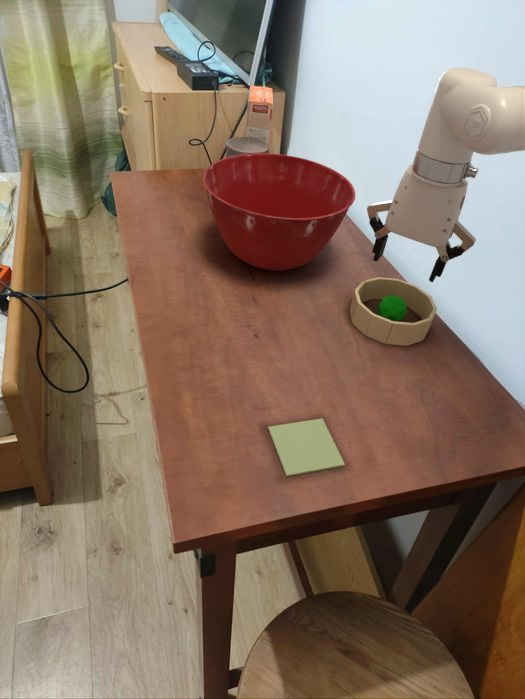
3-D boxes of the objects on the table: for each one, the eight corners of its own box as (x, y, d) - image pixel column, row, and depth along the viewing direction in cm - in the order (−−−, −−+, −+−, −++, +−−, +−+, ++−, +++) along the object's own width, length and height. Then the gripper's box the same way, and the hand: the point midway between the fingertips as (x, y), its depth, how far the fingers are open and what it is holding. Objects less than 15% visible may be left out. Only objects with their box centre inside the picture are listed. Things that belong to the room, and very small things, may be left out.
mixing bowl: (330, 306, 93) (348, 229, 83) (181, 274, 95) (181, 196, 85) (345, 236, 114) (361, 168, 104) (222, 212, 117) (226, 143, 107)
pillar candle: (257, 193, 127) (263, 130, 117) (267, 210, 120) (275, 146, 110) (218, 193, 124) (221, 130, 114) (227, 212, 117) (231, 145, 107)
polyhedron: (374, 325, 90) (381, 303, 87) (374, 309, 93) (381, 288, 90) (403, 330, 89) (411, 309, 86) (401, 314, 93) (409, 293, 90)
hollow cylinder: (436, 315, 94) (444, 295, 91) (414, 356, 84) (423, 335, 81) (366, 289, 98) (371, 269, 95) (338, 324, 89) (343, 303, 86)
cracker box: (263, 192, 127) (273, 103, 114) (239, 190, 127) (246, 100, 113) (264, 171, 138) (273, 87, 124) (242, 168, 138) (248, 84, 124)
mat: (322, 420, 71) (322, 418, 71) (344, 466, 66) (345, 464, 65) (267, 428, 69) (268, 426, 69) (286, 477, 63) (286, 475, 63)
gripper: (504, 176, 73) (461, 276, 84) (391, 143, 79) (364, 241, 90) (495, 193, 68) (450, 297, 79) (374, 156, 73) (348, 259, 85)
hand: (404, 267), depth 85 cm, fingers open, 9 cm apart
